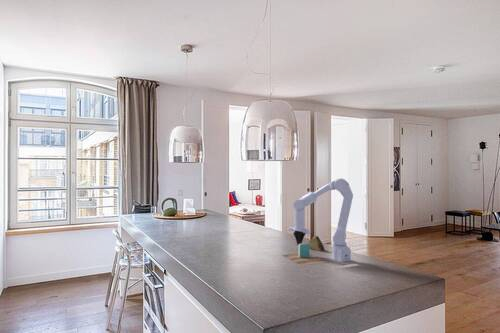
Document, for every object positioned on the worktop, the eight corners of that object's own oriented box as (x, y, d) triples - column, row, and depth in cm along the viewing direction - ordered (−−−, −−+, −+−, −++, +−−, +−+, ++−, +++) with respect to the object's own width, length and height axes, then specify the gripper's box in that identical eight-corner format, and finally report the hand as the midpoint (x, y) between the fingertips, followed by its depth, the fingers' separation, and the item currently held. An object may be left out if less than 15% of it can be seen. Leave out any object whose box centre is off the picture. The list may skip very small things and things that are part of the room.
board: (328, 264, 170) (328, 262, 170) (301, 267, 164) (301, 265, 164) (305, 254, 191) (305, 252, 191) (280, 256, 185) (280, 254, 185)
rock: (301, 246, 201) (310, 247, 192) (307, 234, 204) (316, 234, 195) (314, 255, 204) (323, 257, 195) (320, 243, 207) (329, 245, 198)
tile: (309, 256, 181) (309, 243, 181) (300, 257, 179) (300, 244, 179) (307, 255, 183) (307, 243, 183) (298, 256, 181) (298, 243, 181)
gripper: (314, 221, 183) (314, 246, 183) (294, 218, 194) (294, 241, 194) (305, 223, 178) (305, 248, 178) (286, 219, 189) (286, 243, 189)
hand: (299, 245), depth 186 cm, fingers closed
